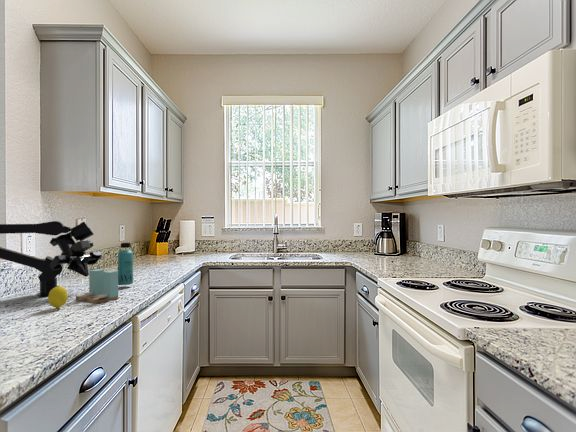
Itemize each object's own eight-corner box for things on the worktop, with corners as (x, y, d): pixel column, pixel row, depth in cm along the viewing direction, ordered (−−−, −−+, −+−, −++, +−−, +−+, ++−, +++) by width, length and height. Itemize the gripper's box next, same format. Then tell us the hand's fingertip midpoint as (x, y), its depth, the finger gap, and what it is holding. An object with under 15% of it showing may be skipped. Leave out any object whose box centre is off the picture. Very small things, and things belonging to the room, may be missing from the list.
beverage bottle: (113, 287, 147) (113, 242, 147) (126, 285, 153) (126, 241, 153) (124, 289, 144) (124, 243, 144) (136, 286, 150) (136, 242, 150)
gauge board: (75, 299, 126) (75, 296, 126) (94, 295, 133) (94, 292, 133) (100, 303, 121) (100, 299, 121) (118, 298, 128) (118, 295, 128)
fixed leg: (96, 298, 123) (96, 273, 123) (111, 294, 129) (111, 270, 129) (102, 299, 122) (102, 273, 122) (118, 295, 128) (118, 271, 128)
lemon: (57, 311, 111) (57, 287, 111) (43, 310, 112) (43, 286, 112) (71, 307, 116) (71, 284, 116) (58, 306, 117) (58, 283, 117)
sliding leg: (81, 296, 126) (81, 271, 126) (97, 292, 132) (97, 269, 132) (87, 297, 125) (88, 272, 125) (103, 293, 131) (103, 269, 131)
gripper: (54, 234, 126) (74, 265, 122) (99, 232, 143) (117, 259, 139) (41, 254, 129) (59, 285, 124) (86, 250, 146) (104, 276, 142)
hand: (87, 275), depth 132 cm, fingers closed
